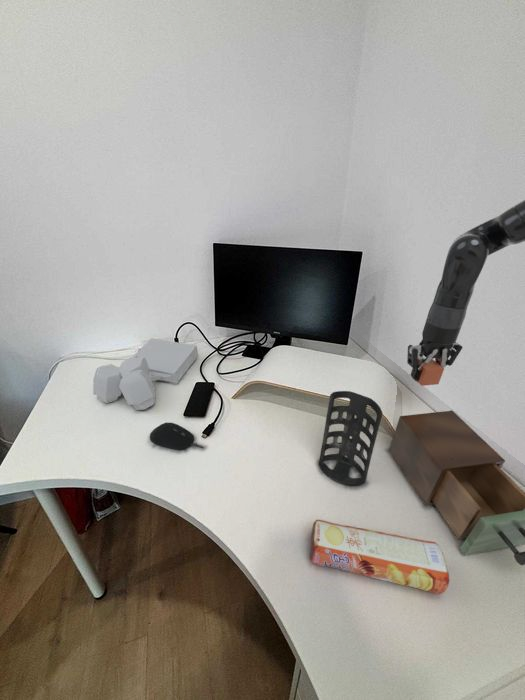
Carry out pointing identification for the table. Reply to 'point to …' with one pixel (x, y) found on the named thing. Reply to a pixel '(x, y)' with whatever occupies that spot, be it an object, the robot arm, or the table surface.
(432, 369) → the block
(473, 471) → the drawer
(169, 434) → the gaming mouse
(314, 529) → the snack package
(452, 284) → the robot arm
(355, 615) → the table surface
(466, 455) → the cabinet
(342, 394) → the holder
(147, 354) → the game console
